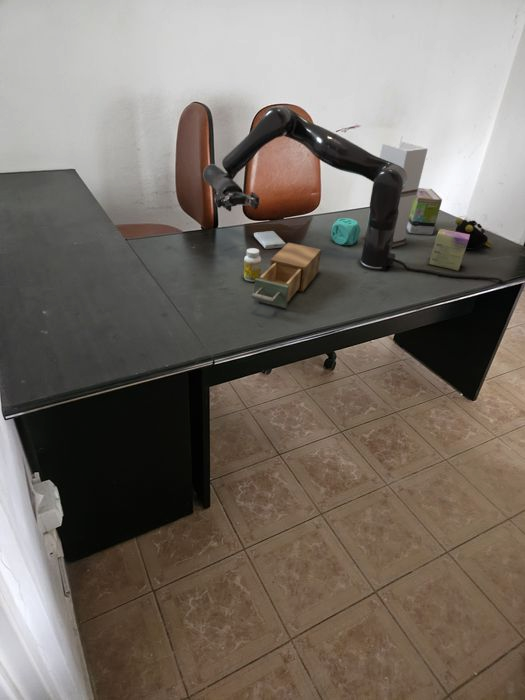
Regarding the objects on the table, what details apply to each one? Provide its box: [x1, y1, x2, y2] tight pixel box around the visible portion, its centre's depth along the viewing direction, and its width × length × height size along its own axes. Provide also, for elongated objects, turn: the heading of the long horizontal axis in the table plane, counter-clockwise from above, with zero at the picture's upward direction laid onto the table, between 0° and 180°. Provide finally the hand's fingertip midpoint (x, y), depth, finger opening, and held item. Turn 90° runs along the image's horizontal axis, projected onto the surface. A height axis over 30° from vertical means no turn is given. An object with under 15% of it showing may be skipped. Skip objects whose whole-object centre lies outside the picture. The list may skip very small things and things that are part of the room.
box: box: [428, 228, 470, 272], centre depth 167 cm, size 10×6×12 cm, turn 65°
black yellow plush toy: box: [454, 217, 493, 250], centre depth 181 cm, size 12×15×15 cm
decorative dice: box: [330, 217, 361, 246], centre depth 181 cm, size 8×8×8 cm
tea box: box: [406, 187, 443, 235], centre depth 195 cm, size 15×10×15 cm, turn 179°
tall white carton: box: [364, 141, 428, 248], centre depth 176 cm, size 11×11×35 cm
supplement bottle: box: [243, 247, 262, 283], centre depth 151 cm, size 5×5×10 cm
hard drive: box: [253, 230, 287, 250], centre depth 179 cm, size 2×8×12 cm
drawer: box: [251, 263, 302, 309], centre depth 140 cm, size 20×10×7 cm, turn 156°
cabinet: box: [269, 242, 322, 293], centre depth 153 cm, size 15×11×8 cm
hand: (243, 207), depth 151 cm, fingers open, 8 cm apart
